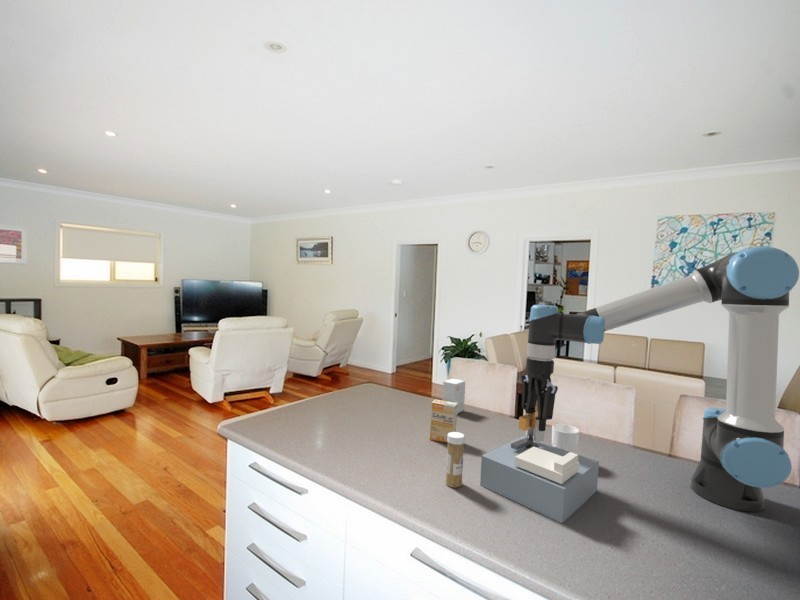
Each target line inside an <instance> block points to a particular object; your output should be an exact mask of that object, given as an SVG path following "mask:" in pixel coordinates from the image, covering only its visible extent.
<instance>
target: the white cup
mask: <svg viewBox="0 0 800 600" xmlns="http://www.w3.org/2000/svg"><path fill="white" fill-rule="evenodd" d="M579 436H580V429H578V428H577V427H575V426H573V425H569V424H564V423H556V424H553V425H552V426H551V446H554V447H557V448H560V449H563V450H566V451H569V452H572V453H575V454H578V445H579V439H580V438H579Z"/></svg>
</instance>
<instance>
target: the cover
mask: <svg viewBox="0 0 800 600" xmlns="http://www.w3.org/2000/svg"><path fill="white" fill-rule="evenodd" d="M578 455H579V454H578V453H577V454H575V453H572V452H569V453H568V454H566V455H565V456H560V455H557V454H554V453H551V452H548V451H545V450H542V449H539V448H537V447H532V448H530V449H528V450H526V451H525V452H523V453H521V454H519V455H517V456H515V463H514V465H515V466H517V467H520V468H522V469H525V470H527V471H530V472H532V473H535V474H537V475H540V476H542V477H545V478H547V479H550V480H552V481H555V482H557V483H560V484H563V483H564V482H565V481H567V480H568V479H569V478H570V477H572V476H573V475H574V474H576V473H577V472H578V471H579V462H578Z"/></svg>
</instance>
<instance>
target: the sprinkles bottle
mask: <svg viewBox="0 0 800 600" xmlns="http://www.w3.org/2000/svg"><path fill="white" fill-rule="evenodd" d="M465 437H466V436H465V434H464V433H462V432H458V431H456V432H450V433H448V436H447V441H448V443H447V448H446V449H447V451H446V465H445V467H446V469H445V470H446V471H445V474H446V475H445V484H446V485H447V487H450V488H460V487H462V486H463V472H464V471H463V469H464V448H465V447H464V446H465V445H464V444H465Z"/></svg>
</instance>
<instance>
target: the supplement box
mask: <svg viewBox="0 0 800 600" xmlns="http://www.w3.org/2000/svg"><path fill="white" fill-rule="evenodd" d="M457 408H458V403H454V402H448V401H443V399H441V400H440V399H436V398H435V399H434V400H433V401H432V402H431V410H430V411H431V412H430V414H431V415H430V427H429V428H430V430H429V440H431V441H436V442H442V443H447V444H448V441H447V436H448V433H450V432H457V425H458V423H457V422H458V421H457V420H458V414H457Z"/></svg>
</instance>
